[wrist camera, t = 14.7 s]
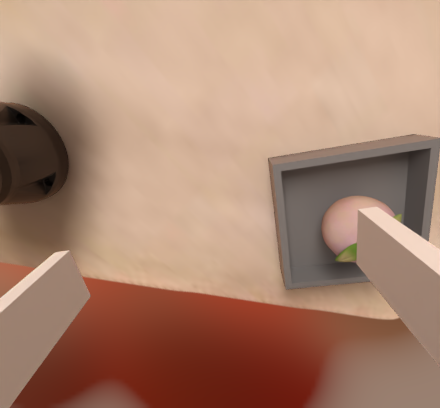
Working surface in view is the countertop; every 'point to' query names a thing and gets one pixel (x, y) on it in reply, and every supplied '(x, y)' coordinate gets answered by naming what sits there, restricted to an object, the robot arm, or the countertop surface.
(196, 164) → the countertop surface
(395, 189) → the bin
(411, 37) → the countertop surface
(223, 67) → the countertop surface
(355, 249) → the decorative fruit
